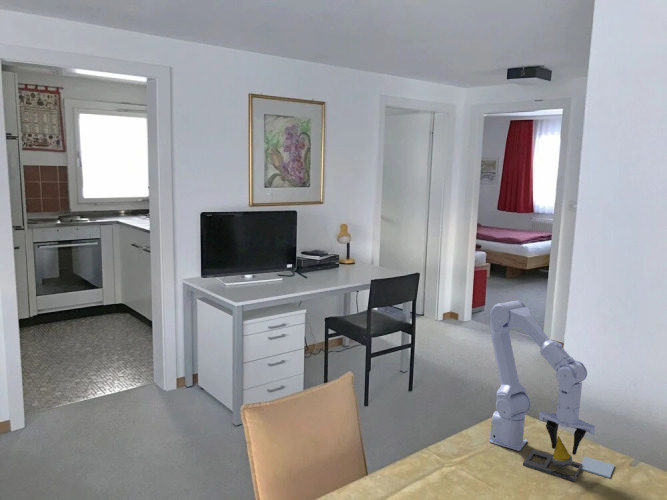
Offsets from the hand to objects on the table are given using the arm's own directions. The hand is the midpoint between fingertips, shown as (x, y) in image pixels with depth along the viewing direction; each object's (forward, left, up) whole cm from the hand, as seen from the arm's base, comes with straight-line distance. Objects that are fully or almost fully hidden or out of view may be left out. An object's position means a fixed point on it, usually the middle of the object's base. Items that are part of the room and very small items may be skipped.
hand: (564, 450), depth 158 cm
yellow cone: (0, 0, -6) cm, 6 cm away
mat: (+8, +7, -6) cm, 12 cm away
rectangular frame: (-3, 0, -6) cm, 6 cm away
